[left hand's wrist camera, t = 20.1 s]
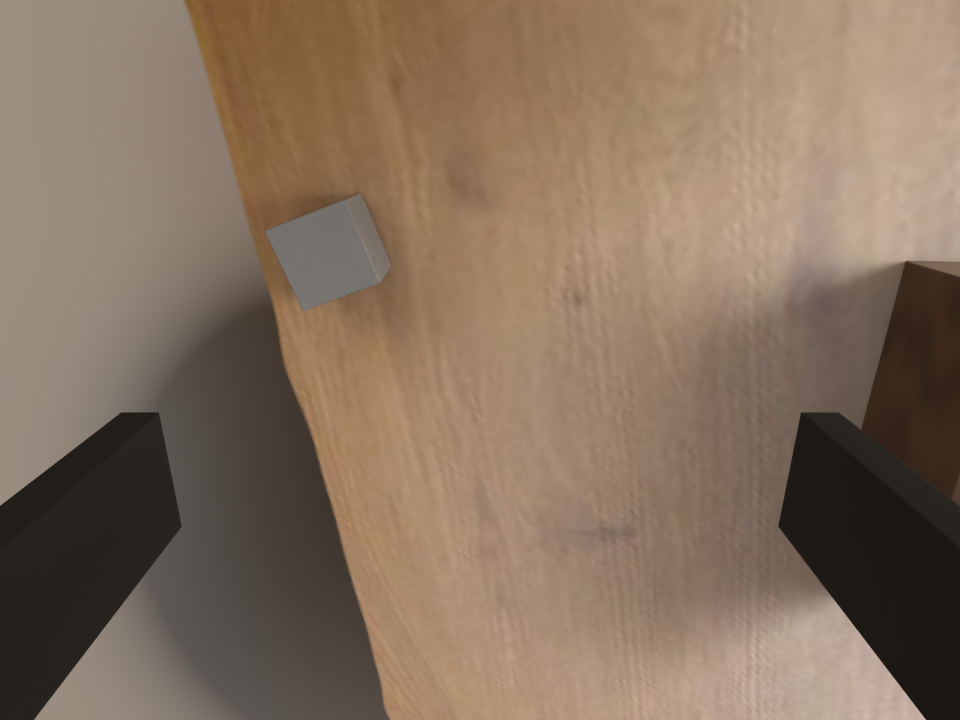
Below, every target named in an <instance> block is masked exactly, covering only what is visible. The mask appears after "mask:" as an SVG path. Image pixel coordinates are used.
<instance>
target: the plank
mask: <svg viewBox="0 0 960 720" xmlns="http://www.w3.org/2000/svg"><path fill="white" fill-rule="evenodd" d="M862 431H863V432H865V433H866V434H867V435H868V436H870V437H871V438H872V439H874V440H875V441H876V442H878V443H879V444H880V445H881V446H883V447H884V448H885V449H887V450H888V451H889V452H890V453H892V454H893V455H894V456H896V457H897V458H898V459H900V460H901V461H902V462H903V463H905V464H906V465H907V466H909V467H910V468H911V469H913V470H914V471H915V472H916V473H918V474H919V475H920V476H922V477H923V478H924V479H926V480H927V481H928V482H929V483H931V484H932V485H933V486H935V487H936V488H937V489H939V490H940V491H941V492H942V493H944V494H945V495H946V496H948V497H949V498H950V499H951V500H953V501H954V502H955V503H957V504H958V505H959V506H960V262H923V261H907V262H906V263H905V267H904V271H903V274H902V278H901V282H900V286H899V290H898V293H897V297H896V301H895V305H894V309H893V312H892V316H891V320H890V324H889V327H888V331H887V335H886V339H885V343H884V346H883V350H882V354H881V358H880V362H879V365H878V369H877V373H876V377H875V381H874V384H873V388H872V392H871V396H870V399H869V403H868V407H867V411H866V415H865V418H864V422H863V426H862Z"/></svg>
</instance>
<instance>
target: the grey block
mask: <svg viewBox="0 0 960 720" xmlns="http://www.w3.org/2000/svg"><path fill="white" fill-rule="evenodd" d="M265 233H266V235H267V237H268V240H269V242H270V244H271V246H272V248H273V250H274V252H275V254H276V256H277V258H278V260H279V262H280V265H281V267H282V269H283V271H284V273H285V275H286V277H287V279H288V281H289V283H290V285H291V287H292V289H293V292H294V294H295V296H296V298H297V300H298V302H299V304H300V306H301V308H302V310H303V311H305V310H308V309H311V308H314V307H316V306H319V305H322V304H324V303H327V302H330V301H333V300H335V299H338V298H341V297H344V296H346V295H349V294H352V293H355V292H357V291H360V290H363V289H366V288H368V287H371V286H374V285H377V284H379V283H380V282H381V281H382V280H383V278H384V277H385V275H386V274H387V272H388V271H389V269H390V268H391V266H392V265H391V263H390V260H389V258H388V255H387V253H386V251H385V248H384V246H383V243H382V241H381V239H380V236H379V234H378V231H377V229H376V227H375V224H374V222H373V219H372V217H371V215H370V212H369V210H368V207H367V205H366V203H365V200H364V198H363V195H362V193H359V194H356V195H353V196H351V197H348V198H346V199H343V200H340V201H338V202H335V203H333V204H330V205H327V206H325V207H322V208H320V209H317V210H314V211H312V212H309V213H307V214H304V215H302V216H299V217H296V218H294V219H291V220H289V221H287V222H284V223H282V224H280V225H277V226H275V227H273V228H271V229H268V230H266V231H265Z"/></svg>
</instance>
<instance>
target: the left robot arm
mask: <svg viewBox="0 0 960 720" xmlns="http://www.w3.org/2000/svg"><path fill="white" fill-rule="evenodd" d="M778 527H779V528H780V529H781V531H782V532H783V533H784V535H785V536H786V537H787V538H788V540H789V541H790V542H791V544H792V545H793V546H794V548H795V549H796V550H797V552H798V553H799V554H800V555H801V557H802V558H803V559H804V561H805V562H806V563H807V565H808V566H809V567H810V569H811V570H812V571H813V572H814V574H815V575H816V576H817V578H818V579H819V580H820V582H821V583H822V584H823V586H824V587H825V588H826V589H827V591H828V592H829V593H830V595H831V596H832V597H833V599H834V600H835V601H836V603H837V604H838V605H839V606H840V608H841V609H842V610H843V612H844V613H845V614H846V616H847V617H848V618H849V620H850V621H851V622H852V623H853V625H854V626H855V627H856V629H857V630H858V631H859V633H860V634H861V635H862V637H863V638H864V639H865V640H866V642H867V643H868V644H869V646H870V647H871V648H872V650H873V651H874V652H875V654H876V655H877V656H878V657H879V659H880V660H881V661H882V663H883V664H884V665H885V667H886V668H887V669H888V671H889V672H890V673H891V674H892V676H893V677H894V678H895V680H896V681H897V682H898V684H899V685H900V686H901V688H902V689H903V690H904V691H905V693H906V694H907V695H908V697H909V698H910V699H911V701H912V702H913V703H914V705H915V706H916V707H917V708H918V710H919V711H920V712H921V714H922V715H923V716H924V718H925V719H926V720H960V506H959V505H958V504H957V503H955V502H954V501H953V500H951V499H950V498H949V497H948V496H946V495H945V494H944V493H942V492H941V491H940V490H939V489H937V488H936V487H935V486H933V485H932V484H931V483H929V482H928V481H927V480H926V479H924V478H923V477H922V476H920V475H919V474H918V473H916V472H915V471H914V470H913V469H911V468H910V467H909V466H907V465H906V464H905V463H903V462H902V461H901V460H900V459H898V458H897V457H896V456H894V455H893V454H892V453H890V452H889V451H888V450H887V449H885V448H884V447H883V446H881V445H880V444H879V443H878V442H876V441H875V440H874V439H872V438H871V437H870V436H868V435H867V434H866V433H865V432H863V431H862V430H861V429H859V428H858V427H857V426H855V425H854V424H853V423H852V422H850V421H849V420H848V419H846V418H845V417H844V416H842V415H841V414H840V413H801V416H800V421H799V426H798V431H797V436H796V441H795V446H794V451H793V456H792V461H791V466H790V471H789V476H788V481H787V486H786V491H785V496H784V501H783V506H782V511H781V516H780V521H779V526H778ZM180 528H181V521H180V516H179V511H178V506H177V501H176V496H175V491H174V486H173V481H172V476H171V471H170V466H169V461H168V456H167V451H166V446H165V441H164V436H163V431H162V426H161V421H160V416H159V413H120V414H119V415H118V416H116V417H115V418H114V419H112V420H111V421H110V422H108V423H107V424H106V425H105V426H103V427H102V428H101V429H99V430H98V431H97V432H96V433H94V434H93V435H92V436H90V437H89V438H88V439H86V440H85V441H84V442H83V443H81V444H80V445H79V446H77V447H76V448H75V449H73V450H72V451H71V452H70V453H68V454H67V455H66V456H64V457H63V458H62V459H60V460H59V461H58V462H57V463H55V464H54V465H53V466H51V467H50V468H49V469H48V470H46V471H45V472H44V473H42V474H41V475H40V476H38V477H37V478H36V479H34V480H33V481H32V482H31V483H29V484H28V485H27V486H25V487H24V488H23V489H22V490H20V491H19V492H18V493H16V494H15V495H14V496H12V497H11V498H10V499H9V500H7V501H6V502H5V503H3V504H2V505H1V506H0V720H34V719H35V718H36V716H37V715H38V714H39V712H40V711H41V710H42V708H43V707H44V706H45V705H46V703H47V702H48V701H49V699H50V698H51V697H52V695H53V694H54V693H55V691H56V690H57V689H58V688H59V686H60V685H61V684H62V682H63V681H64V680H65V678H66V677H67V676H68V674H69V673H70V672H71V670H72V669H73V668H74V667H75V665H76V664H77V663H78V661H79V660H80V659H81V657H82V656H83V655H84V653H85V652H86V651H87V650H88V648H89V647H90V646H91V644H92V643H93V642H94V640H95V639H96V638H97V637H98V635H99V634H100V633H101V631H102V630H103V629H104V627H105V626H106V625H107V623H108V622H109V621H110V620H111V618H112V617H113V616H114V614H115V613H116V612H117V610H118V609H119V608H120V606H121V605H122V604H123V602H124V601H125V600H126V599H127V597H128V596H129V595H130V593H131V592H132V591H133V589H134V588H135V587H136V586H137V584H138V583H139V582H140V580H141V579H142V578H143V576H144V575H145V574H146V572H147V571H148V570H149V569H150V567H151V566H152V565H153V563H154V562H155V561H156V559H157V558H158V557H159V555H160V554H161V553H162V552H163V550H164V549H165V548H166V546H167V545H168V544H169V542H170V541H171V540H172V538H173V537H174V536H175V535H176V533H177V532H178V530H179V529H180Z"/></svg>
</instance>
